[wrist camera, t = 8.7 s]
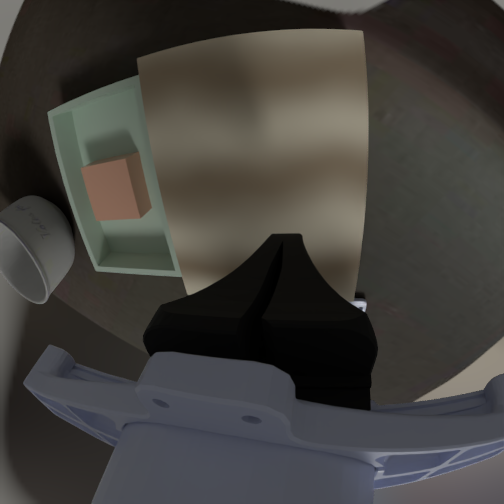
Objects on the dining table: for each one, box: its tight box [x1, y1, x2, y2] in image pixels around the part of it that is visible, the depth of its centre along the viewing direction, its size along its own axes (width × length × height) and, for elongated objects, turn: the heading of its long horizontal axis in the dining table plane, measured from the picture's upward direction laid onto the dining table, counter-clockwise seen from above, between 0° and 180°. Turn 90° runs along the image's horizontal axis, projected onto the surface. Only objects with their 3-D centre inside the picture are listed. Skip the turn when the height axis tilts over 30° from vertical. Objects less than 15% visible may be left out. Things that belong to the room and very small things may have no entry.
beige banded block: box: [137, 29, 368, 302], centre depth 18 cm, size 18×13×4 cm
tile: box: [81, 152, 152, 221], centre depth 21 cm, size 5×5×2 cm
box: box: [47, 75, 182, 277], centre depth 21 cm, size 16×10×3 cm, turn 6°
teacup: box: [0, 196, 75, 304], centre depth 24 cm, size 14×11×8 cm
